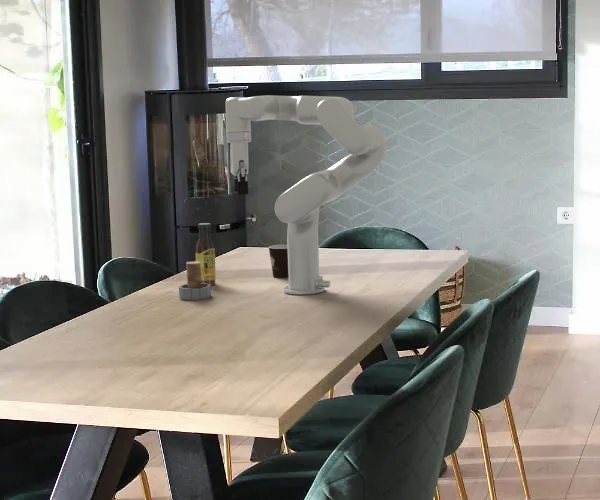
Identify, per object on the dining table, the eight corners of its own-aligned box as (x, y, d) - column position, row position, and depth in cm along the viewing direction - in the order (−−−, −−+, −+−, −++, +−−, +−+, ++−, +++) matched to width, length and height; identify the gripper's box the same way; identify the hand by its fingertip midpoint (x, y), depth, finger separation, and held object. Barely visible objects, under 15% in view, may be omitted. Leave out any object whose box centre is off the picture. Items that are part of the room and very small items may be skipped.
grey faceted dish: (209, 292, 347) (209, 282, 346) (211, 298, 337) (211, 287, 337) (178, 294, 345) (178, 284, 345) (180, 300, 336) (179, 289, 335)
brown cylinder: (200, 293, 344) (199, 261, 342) (201, 295, 340) (200, 263, 338) (187, 294, 343) (186, 261, 341) (188, 296, 339) (187, 264, 337)
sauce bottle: (206, 287, 357) (203, 225, 354) (192, 285, 360) (189, 224, 357) (220, 283, 362) (217, 222, 359) (206, 282, 366) (203, 222, 363)
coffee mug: (295, 278, 367) (294, 248, 365) (269, 279, 367) (268, 249, 365) (296, 272, 378) (295, 243, 377) (270, 273, 378) (269, 243, 377)
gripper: (224, 136, 352) (227, 190, 355) (229, 139, 336) (231, 196, 338) (248, 135, 354) (250, 189, 356) (254, 138, 337) (256, 195, 339)
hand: (241, 192), depth 347 cm, fingers open, 9 cm apart
